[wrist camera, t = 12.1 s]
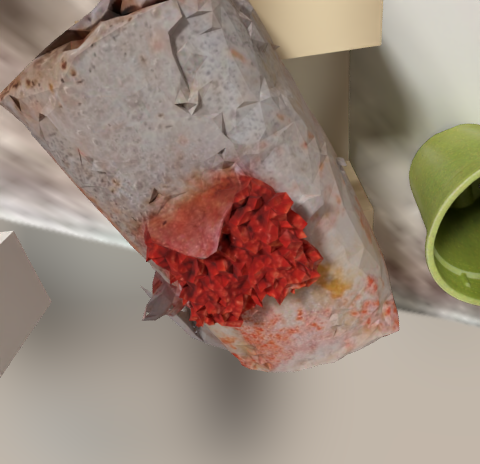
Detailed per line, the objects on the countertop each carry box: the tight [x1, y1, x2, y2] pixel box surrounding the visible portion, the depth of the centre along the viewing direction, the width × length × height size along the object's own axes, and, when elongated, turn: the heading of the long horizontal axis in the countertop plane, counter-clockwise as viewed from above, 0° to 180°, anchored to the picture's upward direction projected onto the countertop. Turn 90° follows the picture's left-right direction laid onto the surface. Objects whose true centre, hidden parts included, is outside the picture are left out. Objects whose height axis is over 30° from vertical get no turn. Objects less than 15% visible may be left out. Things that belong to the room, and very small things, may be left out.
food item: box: [0, 0, 399, 372], centre depth 14 cm, size 14×8×10 cm, turn 34°
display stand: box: [75, 0, 383, 231], centre depth 22 cm, size 12×14×8 cm
